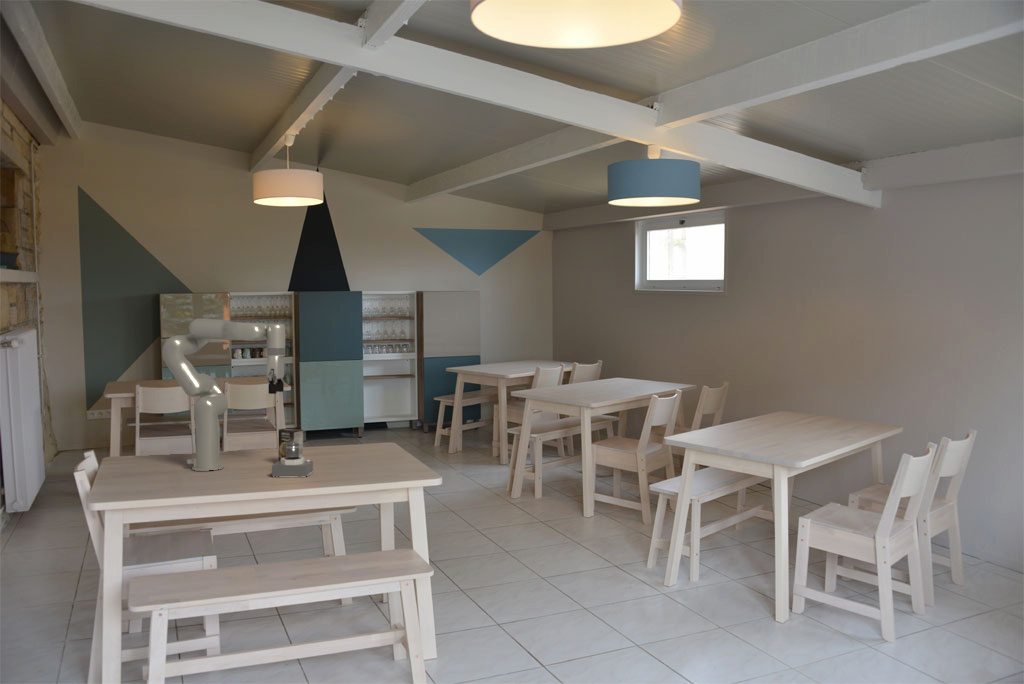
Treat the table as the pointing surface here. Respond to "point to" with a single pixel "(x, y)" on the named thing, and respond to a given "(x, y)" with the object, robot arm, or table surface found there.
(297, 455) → the lens
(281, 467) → the camera body
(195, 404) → the robot arm
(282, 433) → the coffee box
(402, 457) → the table surface
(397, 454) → the table surface
